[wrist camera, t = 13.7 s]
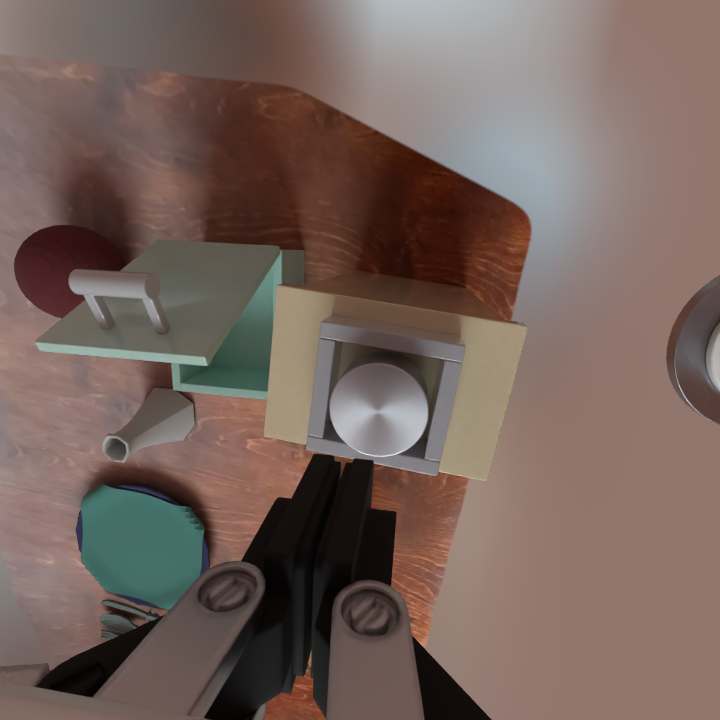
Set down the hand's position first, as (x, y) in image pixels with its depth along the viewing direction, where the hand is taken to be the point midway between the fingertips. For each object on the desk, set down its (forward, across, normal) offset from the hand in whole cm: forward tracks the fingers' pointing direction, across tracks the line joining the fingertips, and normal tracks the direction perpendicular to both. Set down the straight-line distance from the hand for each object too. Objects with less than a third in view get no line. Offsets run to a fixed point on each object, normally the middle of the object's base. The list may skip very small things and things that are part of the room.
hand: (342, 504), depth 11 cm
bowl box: (+36, +17, +1) cm, 39 cm away
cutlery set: (+36, +34, +40) cm, 63 cm away
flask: (+36, +28, +15) cm, 48 cm away
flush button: (+9, 0, 0) cm, 9 cm away
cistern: (+36, -1, 0) cm, 36 cm away
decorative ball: (+36, +35, -3) cm, 50 cm away
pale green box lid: (+20, +17, -3) cm, 27 cm away
